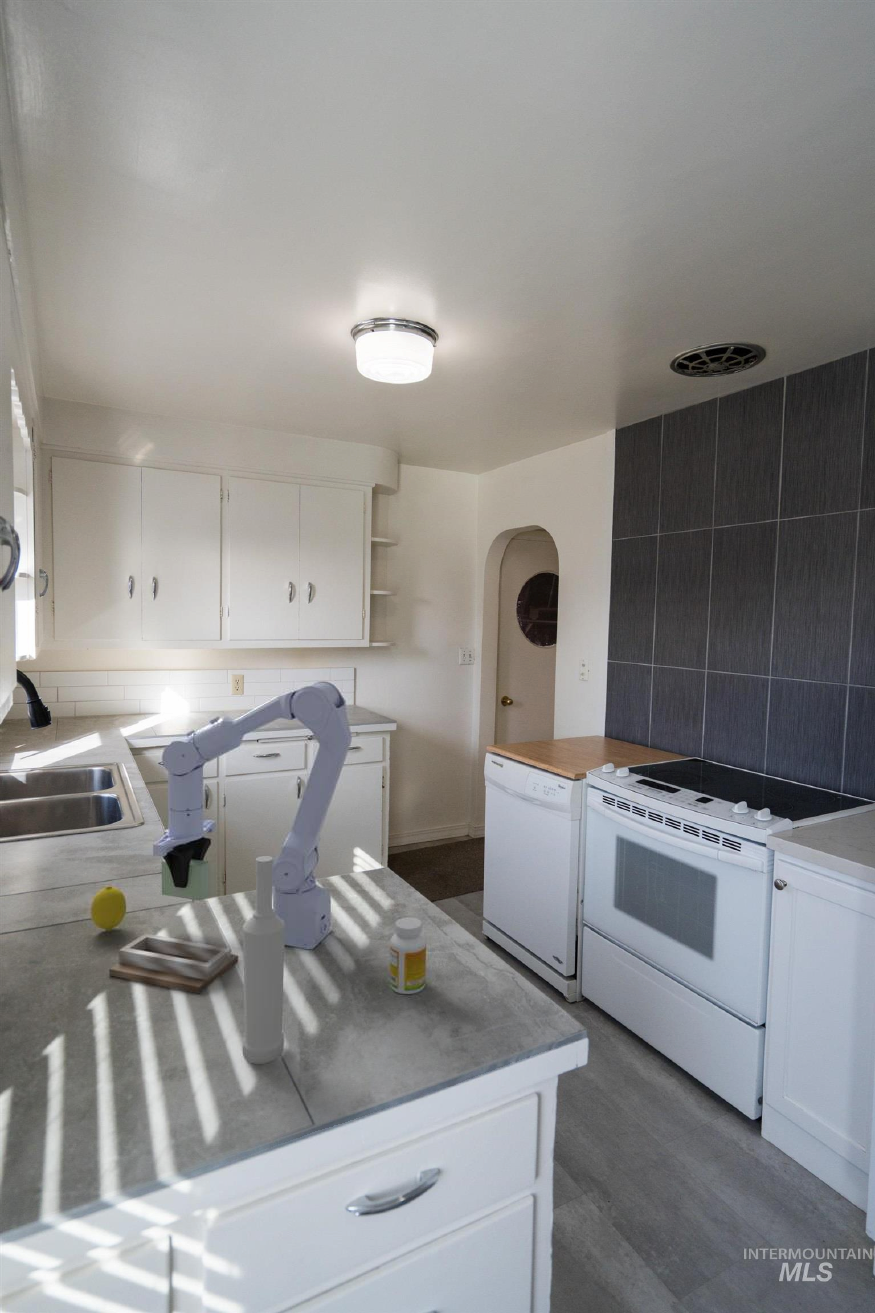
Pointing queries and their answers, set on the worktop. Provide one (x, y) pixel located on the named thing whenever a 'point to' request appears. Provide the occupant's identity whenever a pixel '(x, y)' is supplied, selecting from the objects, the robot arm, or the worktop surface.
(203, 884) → the pale green rectangular block
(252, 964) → the bottle
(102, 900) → the lemon
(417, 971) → the supplement bottle
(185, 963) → the track base
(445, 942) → the worktop surface
